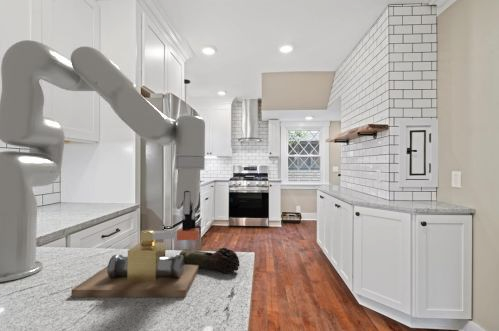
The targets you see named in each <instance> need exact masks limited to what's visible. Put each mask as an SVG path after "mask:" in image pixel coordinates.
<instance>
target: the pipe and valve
mask: <svg viewBox="0 0 499 331" xmlns="http://www.w3.org/2000/svg"><path fill="white" fill-rule="evenodd" d="M107 266H108V268H107V273H108V277H109V278H117V277H118V276H127V282H156V281H157V279H158V278H159V277H160V276H173V277H174V278H180V277H181V276H182V274H183V271H184V256H183V255H179V254H176V255H174V256H166V242H155V245H153V246H146V247H144V246H141V241H140V242H139V243H137V244H135V245H134V246H133V247H131V248H129V249H128V250H127V256H124V255H122V254H113V255H112V256H111V257H110V259H109V261H108V263H107Z"/></svg>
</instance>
